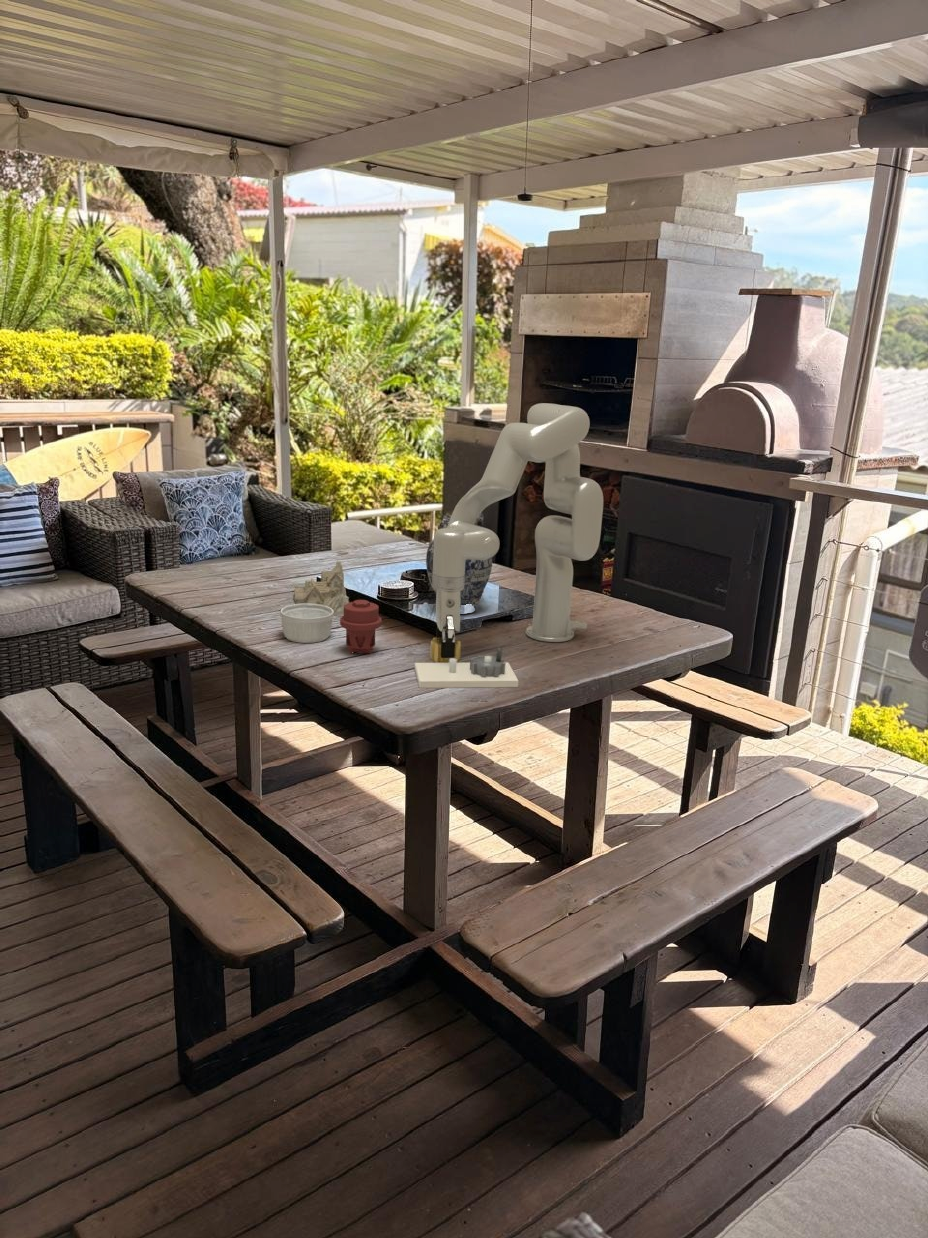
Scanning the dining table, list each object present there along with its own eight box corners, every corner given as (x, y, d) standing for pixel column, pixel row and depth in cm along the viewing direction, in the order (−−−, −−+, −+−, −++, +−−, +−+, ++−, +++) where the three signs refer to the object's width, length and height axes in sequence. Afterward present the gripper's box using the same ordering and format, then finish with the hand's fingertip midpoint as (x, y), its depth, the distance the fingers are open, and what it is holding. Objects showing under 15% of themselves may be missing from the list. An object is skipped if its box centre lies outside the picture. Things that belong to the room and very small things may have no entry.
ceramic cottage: (352, 601, 263) (349, 550, 258) (348, 620, 248) (344, 566, 243) (298, 602, 263) (294, 551, 258) (290, 621, 247) (285, 568, 242)
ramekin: (343, 634, 234) (343, 608, 232) (314, 648, 223) (314, 621, 221) (300, 625, 239) (300, 600, 237) (269, 639, 228) (269, 612, 226)
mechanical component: (338, 657, 217) (340, 643, 227) (381, 657, 218) (381, 644, 228) (339, 607, 214) (341, 595, 223) (382, 608, 215) (382, 596, 224)
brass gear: (457, 653, 224) (458, 636, 222) (461, 663, 217) (462, 645, 216) (428, 653, 223) (429, 636, 221) (432, 663, 216) (432, 645, 215)
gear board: (507, 668, 215) (509, 640, 213) (517, 687, 204) (519, 657, 202) (414, 668, 212) (415, 640, 210) (419, 687, 201) (420, 657, 199)
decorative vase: (465, 624, 247) (469, 521, 239) (409, 612, 256) (411, 513, 248) (504, 607, 264) (509, 511, 256) (450, 597, 273) (453, 503, 266)
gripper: (469, 591, 207) (465, 663, 212) (459, 572, 223) (455, 639, 228) (436, 591, 205) (433, 663, 210) (428, 572, 222) (425, 639, 227)
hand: (444, 650), depth 219 cm, fingers open, 9 cm apart
